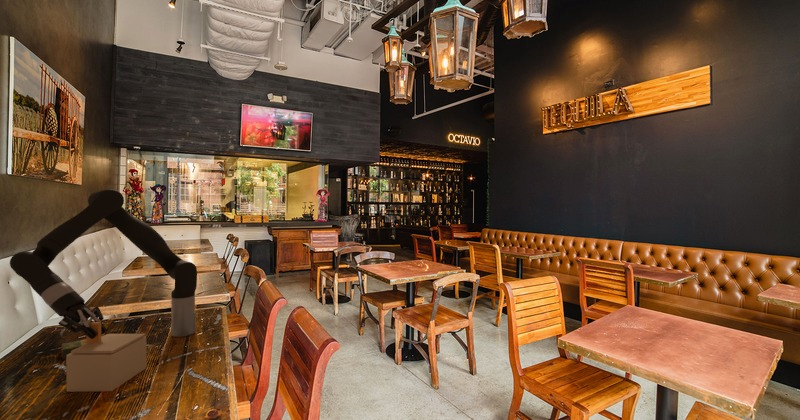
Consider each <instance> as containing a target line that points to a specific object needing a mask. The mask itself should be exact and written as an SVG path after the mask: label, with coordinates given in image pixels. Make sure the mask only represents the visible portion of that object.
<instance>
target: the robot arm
mask: <svg viewBox="0 0 800 420" xmlns="http://www.w3.org/2000/svg"><path fill="white" fill-rule="evenodd" d="M87 203H88V205H87V207H85V208H84V209H83V210H82V211H80V212H79V213H77V214H76V215H74V216H73V217H71V218H70V219H68V220H66V221H64V222H63V223H61V224H60V225H58V226H56V227H55V228H53V229H52V230H51V231H50V232H48V233H46V235H44V236H43V237H41V239H39V241H38V242H37V244H36V248H35V249H34V250H33V251H27V250H26V251H24V250H23V251H19V252H17V253H15V254H13V255H12V256H11V258H10V260H9V266H10V268H11V269H12V271H13V272H14V273H15V274H16V275H17V276H19V277H22V279H24V280H25V281H26V282H27V283H28V285H29V286H30V287H31V288H32V290H33V291H34V292H35V293H36V294H38V296H39V297H40V298H41V299H42V300H43V301H44V302H45V304H46V305H47V306H49V308H51V310H53V311H54V312H55V314H56V315H58V316H59V317H61V318H62V317H63V318H62V319H61V320H59V322H58V325H60V326H62V327H63V328H65V329H67V330H69V331H71V332H74V333H76V334H77V333H78V332H81V333H84V334H85V335H87V336H88V337H89V338H91V339H93V338H95V337H96V336H97V335H98V333H97V332H96V331H95V330H94V329H92V328H91V327H89V325H88V323H89V322H101V336H103V335H105V333H106V332H108V329H107V327H106V326H105V325H104V324H102V321H103V320H104V315H103V314H102V311H101V309H100V308H99V306H95V307H90V306H88V305H87V304H85V303H86V302H85V299H84V298H83V297H82V296H81V295H80V294H79V293H78V292H77V291H76V290H75V289H74V288H73V287H72V286H71V285H69V284H67V282H65V281H64V280H63V279H62V278H61V277H60V276H59V275H58V274H56V273H55V272H54V271H53V270H52V269H51V267H49V266H50V265H51V263H53V261H54V260H55V259H56V258H57V256H59V254H60V253H61V252H63V251H64V250H65V249H67V248H68V247H69V246H70V245H71V244H73V243H74V242H75V241H77V239H79V238H80V237H81V236H82V235H83V234H85V233H86V232H87V231H88V230H89V229H91V228H92V227H93V226H95V225H96V224H98V223H99V222H100V221H102V220H103V219H104V220H105V221H107V222H108V223H110V224H112V225H113V227H115V228H116V229H117V230H118V231H119V232H120V233H121V234H122V235H124V237H125V238H126V239H128V241H130V242H131V243H132V244H133V245H134V246H135V247H136V248H138V250H139V251H141V252H143V254H145V255H146V256H148V257H149V258H150V259H152V260H153V261H155V262H156V263H157V264H158V265H159V266H160V267H161V268H162V269H163V270H164V271H165V272H166V273H167V274H168V276H169V277H170V278H171V279H172V280H174V289H173V290H171V294H170V295H171V296H170V297H171V303H170V304H171V307H170V308H171V318H170V319H171V330H170V331H171V336H172V337H174V338H180V337H186V336H187V337H188V336H190V335H194V334H196V333H197V330H196V329H197V328H196V321H197V319H196V290H197V286H198V271H197V270H198V269H197V266H196V265H195V264H194V263H193V262H190V261H186V260H184V259H182V258H181V257H180V256H178V255H177V254H175V253H174V252H173V251H172V250H171V249H170V247H169V245H168V244H167V242H166V240H165V239H164V237H162V236H161V234H160V233H158V232H157V230H156V229H154V228H153V227H152V226H151V225H149V224H148V223H146V222H145V221H143V220H141V219H139V218H137V217H135V216H134V215H132V214H131V213H129V211H127V210H126V209H125V208H124V207H123V205H124V204H125V198H124V195H123V194H122V193H121V192H120V191H118V190H116V189H112V188H106V189H102V190H97V191H95V192H92V193H91V194H90V195H89V196H88V199H87Z"/></svg>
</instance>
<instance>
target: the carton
mask: <svg viewBox="0 0 800 420" xmlns="http://www.w3.org/2000/svg"><path fill="white" fill-rule="evenodd" d="M105 335H106V334H102V335H101V337H103V336H105ZM85 344H87V343H86V338H84V339H79V340H74V341H70V342H64V343H62V344H61V359H62V360H66V355H68V354H70V353H71V351H72V350H74V349H76V348H79V347H81V346H83V345H85Z"/></svg>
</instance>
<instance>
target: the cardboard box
mask: <svg viewBox="0 0 800 420" xmlns="http://www.w3.org/2000/svg"><path fill="white" fill-rule="evenodd" d="M65 361H66V392H68V393H69V392H113V391H114V390H116V389H117V388H118V387H119V388H120V386H122V385H123V384H125V383H126V382H128V381H129V380H131V379H133V378H134V377H135V376H137V375H138V374H140V373H141V372H142V371H145V370H146V369H147V335H145V336H144V337H142V338H140V339H139V340H137V341H135V342H133V343H131V344H129V345H127V346H125V347H124V348H122V349H120V350H118V351H116V352H114V353H82V354H71V353H70V354H68V355H66V358H65Z"/></svg>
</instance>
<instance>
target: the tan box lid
mask: <svg viewBox="0 0 800 420" xmlns="http://www.w3.org/2000/svg"><path fill="white" fill-rule="evenodd" d="M101 323H102V321H101V322H95V321H93V322H89V323H88V325H89V327H91V328H92V329H94V330H95V331H96V332H97V333H98V335H97V336H96V337H95V338H93V339H91V338H89V337H88V336H87V335H86V334H85V335H86V336H85V337H86V338H85V339H86V343H87V344H85V345H83V346H81V347H79V348H76V349H74V350H72V351H71V354H82V353H114V352H116V351H118V350H120V349H122V348H124V347H125V346H127V345H129V344H131V343H133V342H135V341H137V340H139V339H140V338H142V337H144V336H146V333H107V334H104V335H105V336H103V335H101ZM101 336H103V337H101Z"/></svg>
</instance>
